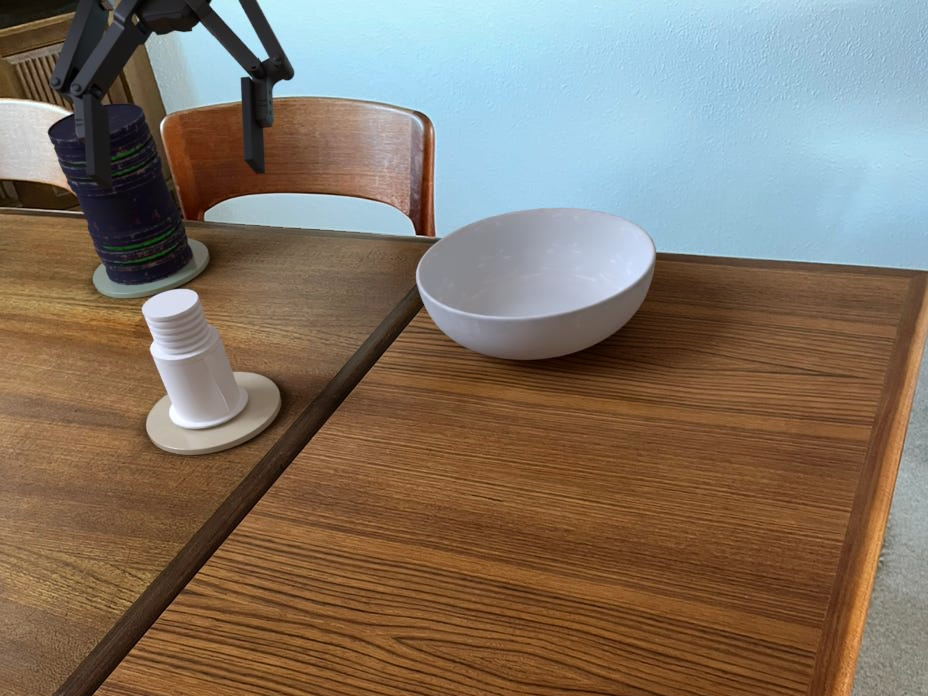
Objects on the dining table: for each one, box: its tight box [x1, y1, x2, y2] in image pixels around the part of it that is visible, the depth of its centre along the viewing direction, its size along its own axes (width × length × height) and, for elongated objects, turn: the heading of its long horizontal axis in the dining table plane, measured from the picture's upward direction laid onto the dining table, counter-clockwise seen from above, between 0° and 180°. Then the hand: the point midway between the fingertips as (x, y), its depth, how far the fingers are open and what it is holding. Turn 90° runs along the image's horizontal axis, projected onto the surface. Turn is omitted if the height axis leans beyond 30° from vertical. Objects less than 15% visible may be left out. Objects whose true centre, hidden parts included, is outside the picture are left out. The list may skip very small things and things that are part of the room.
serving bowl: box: [415, 207, 657, 361], centre depth 86 cm, size 21×21×7 cm
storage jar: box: [47, 102, 193, 285], centre depth 102 cm, size 10×10×15 cm
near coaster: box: [145, 371, 282, 456], centre depth 86 cm, size 12×12×1 cm
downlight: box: [141, 288, 248, 429], centre depth 82 cm, size 8×7×10 cm
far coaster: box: [92, 238, 210, 299], centre depth 108 cm, size 13×13×1 cm
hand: (176, 175), depth 80 cm, fingers open, 13 cm apart
